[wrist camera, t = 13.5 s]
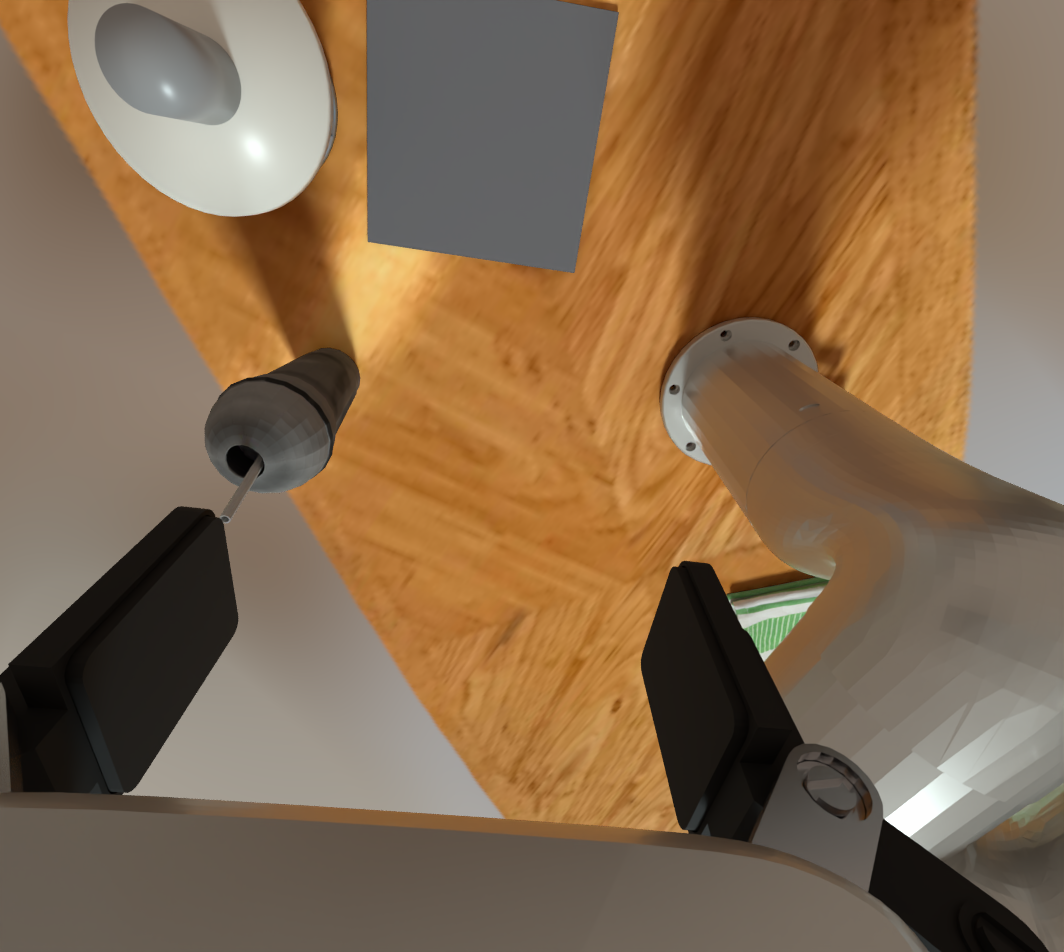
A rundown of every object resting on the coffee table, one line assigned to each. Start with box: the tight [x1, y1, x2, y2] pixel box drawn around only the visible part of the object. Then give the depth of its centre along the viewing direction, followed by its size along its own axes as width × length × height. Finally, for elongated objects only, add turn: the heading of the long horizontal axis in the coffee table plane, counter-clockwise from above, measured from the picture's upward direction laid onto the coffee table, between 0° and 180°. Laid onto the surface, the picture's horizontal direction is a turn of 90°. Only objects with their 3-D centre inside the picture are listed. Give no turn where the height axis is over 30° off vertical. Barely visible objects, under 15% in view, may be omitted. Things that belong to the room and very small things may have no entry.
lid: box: [68, 0, 333, 217], centre depth 27 cm, size 13×13×6 cm
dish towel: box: [727, 577, 830, 661], centre depth 59 cm, size 18×23×3 cm
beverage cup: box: [205, 348, 360, 523], centre depth 35 cm, size 7×7×20 cm
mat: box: [367, 0, 619, 273], centre depth 35 cm, size 15×15×1 cm
